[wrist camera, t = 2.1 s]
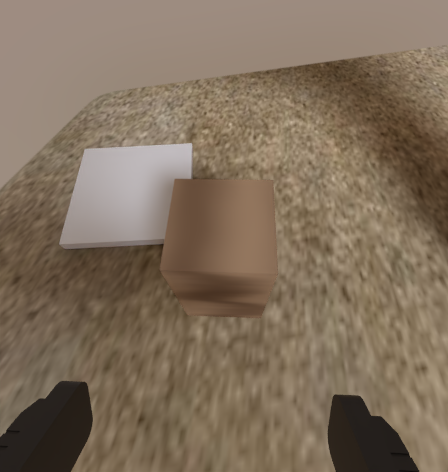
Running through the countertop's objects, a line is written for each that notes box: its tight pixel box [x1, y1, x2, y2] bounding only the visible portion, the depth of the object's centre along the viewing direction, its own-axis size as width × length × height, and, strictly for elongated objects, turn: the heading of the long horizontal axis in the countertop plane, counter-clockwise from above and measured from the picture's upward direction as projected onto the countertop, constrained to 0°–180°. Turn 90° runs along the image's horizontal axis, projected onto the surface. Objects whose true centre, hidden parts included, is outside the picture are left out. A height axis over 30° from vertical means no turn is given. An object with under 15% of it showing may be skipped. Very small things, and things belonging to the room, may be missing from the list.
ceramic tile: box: [59, 143, 193, 249], centre depth 29 cm, size 12×12×1 cm
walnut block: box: [160, 179, 278, 318], centre depth 20 cm, size 6×6×10 cm
